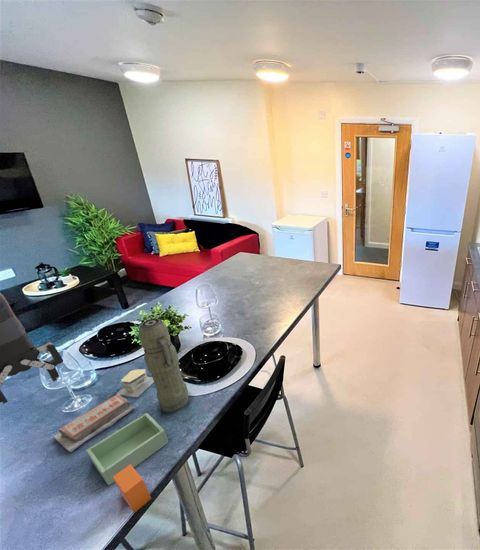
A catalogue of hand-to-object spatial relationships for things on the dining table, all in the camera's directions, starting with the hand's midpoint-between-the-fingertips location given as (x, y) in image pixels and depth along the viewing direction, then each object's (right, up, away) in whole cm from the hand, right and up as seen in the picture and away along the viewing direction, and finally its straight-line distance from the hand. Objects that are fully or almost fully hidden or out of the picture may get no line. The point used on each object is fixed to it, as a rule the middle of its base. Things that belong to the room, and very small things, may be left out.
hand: (30, 390), depth 72 cm
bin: (+12, -26, +17) cm, 33 cm away
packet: (+22, -31, +6) cm, 39 cm away
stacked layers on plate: (-5, -15, +41) cm, 44 cm away
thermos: (+14, -18, +34) cm, 41 cm away
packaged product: (-7, -22, +25) cm, 34 cm away
